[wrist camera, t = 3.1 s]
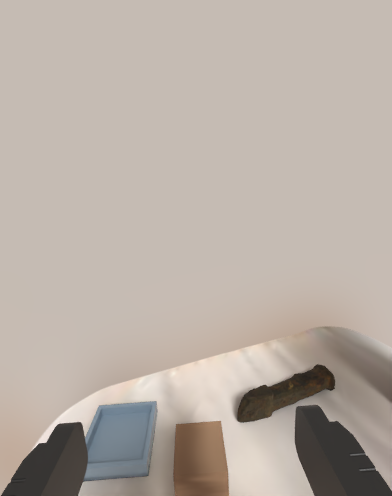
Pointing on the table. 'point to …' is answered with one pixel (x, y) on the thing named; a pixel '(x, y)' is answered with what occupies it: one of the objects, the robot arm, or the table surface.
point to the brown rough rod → (284, 393)
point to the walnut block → (200, 460)
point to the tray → (121, 441)
